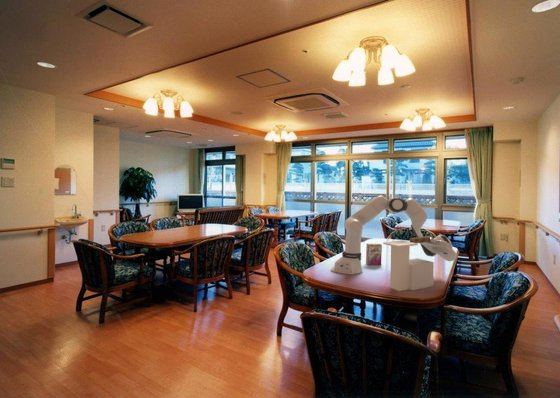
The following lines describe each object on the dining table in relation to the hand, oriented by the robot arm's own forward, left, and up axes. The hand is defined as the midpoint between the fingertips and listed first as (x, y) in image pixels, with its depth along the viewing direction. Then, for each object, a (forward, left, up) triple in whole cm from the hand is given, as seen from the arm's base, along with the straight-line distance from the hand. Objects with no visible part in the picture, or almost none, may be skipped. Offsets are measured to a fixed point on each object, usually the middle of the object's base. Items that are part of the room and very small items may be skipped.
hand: (427, 238), depth 204 cm
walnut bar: (-3, -4, -2) cm, 6 cm away
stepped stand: (-11, -13, -29) cm, 33 cm away
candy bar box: (-37, +37, -29) cm, 60 cm away
